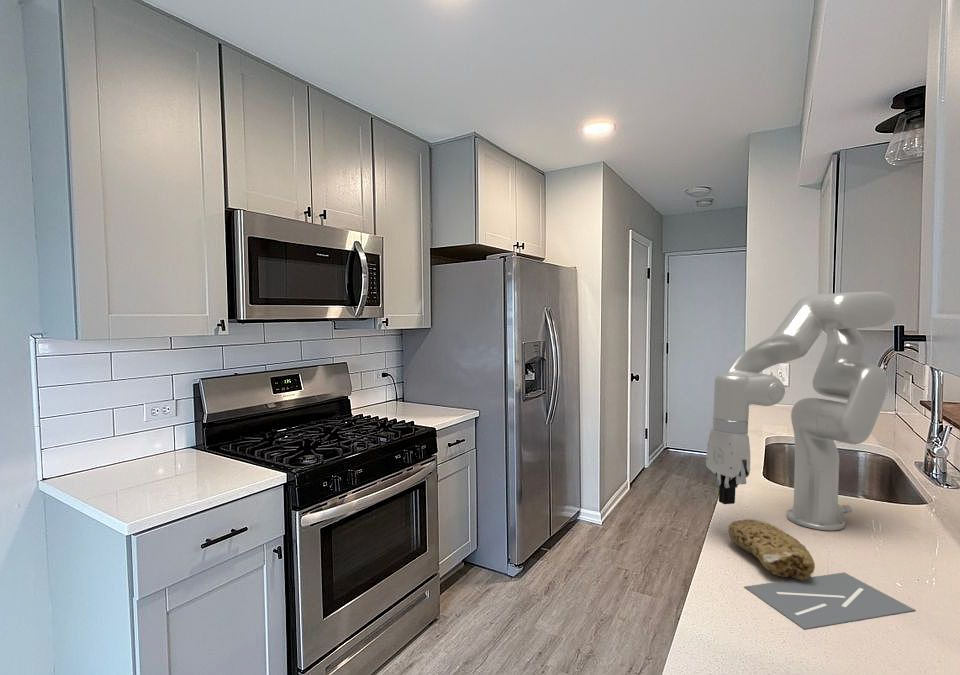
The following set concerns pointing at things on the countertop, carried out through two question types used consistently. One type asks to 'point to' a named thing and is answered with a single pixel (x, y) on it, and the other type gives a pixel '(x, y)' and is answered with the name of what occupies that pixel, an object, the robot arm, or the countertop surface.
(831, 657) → the countertop surface
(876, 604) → the mat
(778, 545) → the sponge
